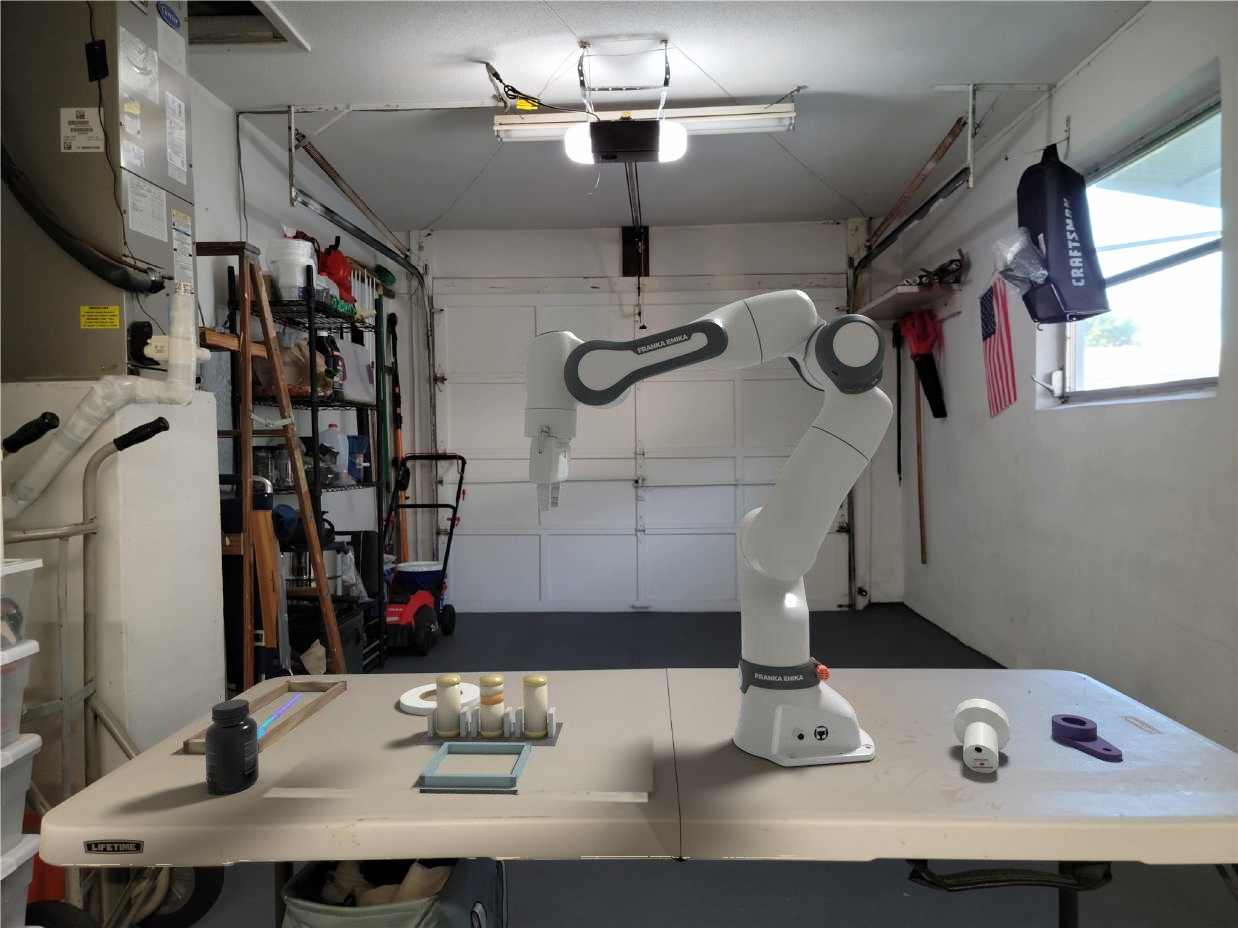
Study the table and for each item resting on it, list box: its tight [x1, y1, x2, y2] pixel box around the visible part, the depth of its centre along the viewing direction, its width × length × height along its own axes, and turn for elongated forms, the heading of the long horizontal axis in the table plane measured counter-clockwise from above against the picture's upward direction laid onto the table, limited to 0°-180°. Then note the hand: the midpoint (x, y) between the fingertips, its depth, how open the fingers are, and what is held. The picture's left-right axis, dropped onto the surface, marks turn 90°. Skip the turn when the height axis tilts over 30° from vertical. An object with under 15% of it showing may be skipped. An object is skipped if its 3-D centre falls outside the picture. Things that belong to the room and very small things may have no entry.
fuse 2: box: [522, 673, 548, 738], centre depth 117 cm, size 4×4×10 cm
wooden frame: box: [182, 680, 348, 754], centre depth 130 cm, size 13×32×2 cm, turn 177°
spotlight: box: [952, 698, 1011, 774], centre depth 107 cm, size 8×11×8 cm
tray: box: [418, 742, 532, 796], centre depth 104 cm, size 14×12×2 cm
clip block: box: [415, 706, 564, 747], centre depth 117 cm, size 23×10×5 cm, turn 87°
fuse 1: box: [435, 673, 462, 738], centre depth 118 cm, size 4×4×10 cm
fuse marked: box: [479, 673, 505, 738], centre depth 117 cm, size 4×4×10 cm
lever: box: [1051, 713, 1123, 762], centre depth 112 cm, size 12×6×3 cm, turn 5°
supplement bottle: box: [204, 698, 260, 795], centre depth 102 cm, size 7×7×12 cm
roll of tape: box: [399, 681, 480, 717], centre depth 134 cm, size 16×15×3 cm
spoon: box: [257, 693, 303, 739], centre depth 130 cm, size 25×4×1 cm, turn 3°
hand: (549, 509), depth 117 cm, fingers open, 8 cm apart
